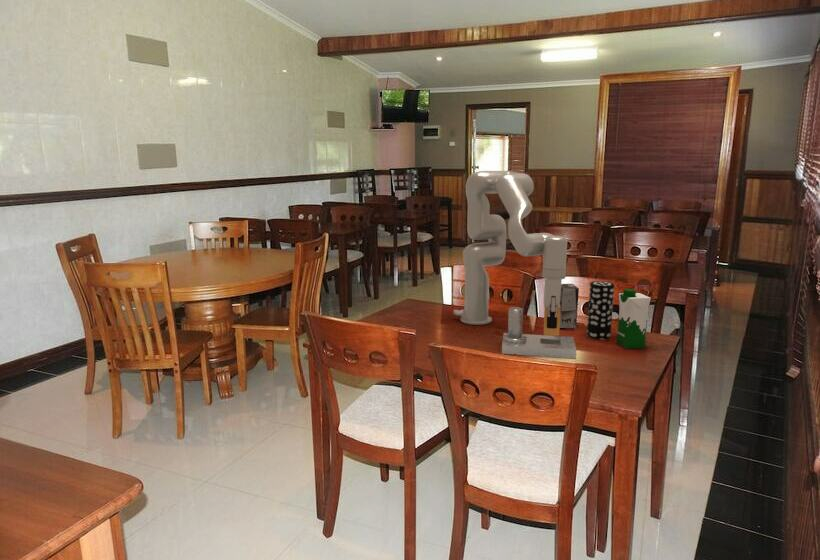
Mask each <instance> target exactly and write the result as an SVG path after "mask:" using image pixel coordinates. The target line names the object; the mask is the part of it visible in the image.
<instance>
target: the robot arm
mask: <svg viewBox="0 0 820 560" xmlns="http://www.w3.org/2000/svg"><path fill="white" fill-rule="evenodd" d="M466 179H467V180H466V183H465V196H466V201H467V214H466V215H467V218H466V219H467V221H466V222H467V224H466V226H467V227H466V229H467V235H468V237H469V238H470V239H471V240H475V241H476V240H477V241H479V240H481V241H482V240H488V241H487V242H475V243H471V244H468V245H467V246H465V247H464V249H463V252H462V260H463V264H464V308H463V309H460V310H459V309H453V315H455V316H460V322H461V323H463V324H466V325H473V326H481V325H483V326H484V325H488V324H491V323H492V322H493V318H492V317H491V316H489V294H490V277H489V274H488V272H487V271H486V268H485V267H493V266H498V265H501V264H502V263H503V262H504V260H505V258H506V254H507V253H506V252H507V250H506V249H507V233H508V237H509V238H508V239H509V240H510V242H511V244H512V246H513V247H514V249H515V250H516V252H517V254H519V255H520V256H522V257H535V256H542V270H541V271H542V272H541V273H542V274H541V275H542V278H543V279H544V287H543V288H544V289H543V290H544V291H543V292H544V293H543V307H544V309H545V308H546V307H548V316H547V328H554V329H556V328H557V309H558V308H559V305H560V296H561V284H562V280H565V279H566V277H567V276H566V275H567V274H566V273H567V272H566V271H567V255H568V252H567V251H568V239H567V238H566V237H565V236H563V235H555V234H552V233H549V232H539V233H538V232H536V233H535V232H534V233H527V232H526V230H525V228H524V227H523V225H522V219H524V218H527V216H528V215H529V214H530V213H531V212H532V210H533V204H532V203H531V201H530V199H529V196H530V195H531V194H533V192H534V187H535V186H534V180H533V178H532V177H531V176H530V175H528V174H527V173H525V172H524V173H522V172H516V171H509V170H480V171H476V172H475V171H474V172H473V173H471V174H470V175H469V176H468V177H467V178H466ZM486 194H490V195H491V194H493V195H494V194H498V197H499V198H500V200H501V202H502V204H503V205H504V208H505V209H506V211H507V213H508V215H509V219H508V222H507V223H508V224H506V221H505V218H503V217H502V216H501V215H499V214H494V213H493V214H490V207H491V206H490V201H489V199H488V197H487V196H486ZM550 306H551V307H550ZM555 306H556V308H555ZM550 309H551V310H550Z"/></svg>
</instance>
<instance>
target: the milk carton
mask: <svg viewBox="0 0 820 560" xmlns="http://www.w3.org/2000/svg"><path fill="white" fill-rule="evenodd" d="M651 299H652V297H650V296H647V295H645V294H643V293H640V292H637V290H636V289H634V288H624V289H623V291H622V293H618V303H619V311H618V324H617V325H618V326H617V335H616V342H617V343H616V342H615V343H616V344H618V345H619V346H622V347H623V348H624V349H626V350H627V349H629V350H630V349H646V345H647V344H646V341H647V340H646V339H647V327H648V315H649V307H650V303H651Z"/></svg>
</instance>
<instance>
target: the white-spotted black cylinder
mask: <svg viewBox="0 0 820 560" xmlns="http://www.w3.org/2000/svg"><path fill="white" fill-rule="evenodd" d="M588 293H589V296H588V310H587V312H588V313H587V328H586V337H587V336H588V337H590V338H589V339H591V338H593V339H592V340H595V339H599V340H598V341H601V340H600V339H608V340H610V339H611V335H612V332H611V331H612V320H613V307H614V306H613V305H614V294H615V283H614V282H610V281H604V280H603V281H602V280H600V281H599V280H596V281H595V280H594V281H590V282H589V292H588ZM588 337H587V338H588ZM609 338H610V339H609Z"/></svg>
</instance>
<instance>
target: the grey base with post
mask: <svg viewBox="0 0 820 560" xmlns="http://www.w3.org/2000/svg"><path fill="white" fill-rule="evenodd" d="M507 316H508V317H507V318H508V319H507V332H503V334H502V335H503V336H502V343H501V344H502V345H501V354H503V355H514V354H516V355H515V356H517V355H518V356H531V357H532V356H533V357H545V358H546V357H547V358H561V359H576V358H577V347H576V342H575V340H574V338H575V337H574V336H563V335H562V336H561V335H559V336H555V335H544V334H543V335H542V334H529V333H523V323H524V322H523V321H524V320H523V318H524V317H523V316H524V309H523V307H519V306H512V307H508V315H507Z"/></svg>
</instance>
